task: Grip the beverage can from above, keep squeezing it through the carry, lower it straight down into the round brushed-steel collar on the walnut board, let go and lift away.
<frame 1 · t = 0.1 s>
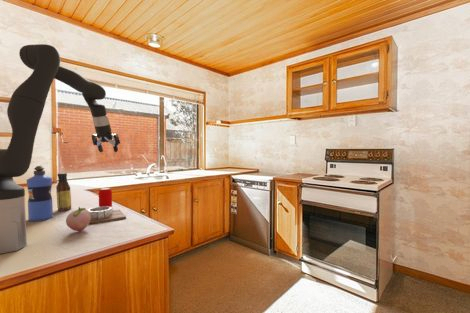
hand: (108, 151, 135), 31 cm above the table, tool tilted 20°, fingers open, 8 cm apart
sauce bottle: (64, 210, 130), on the table
walnut base board: (99, 218, 114), on the table
water bottle: (40, 218, 114), on the table
beverage can: (105, 211, 127), on the table
steel collar: (99, 212, 114), on the walnut base board, point 3 cm above the table
decorative fruit: (78, 232, 96), on the table
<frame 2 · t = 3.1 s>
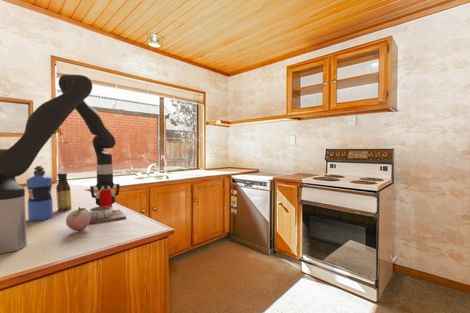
hand: (105, 204, 127), 4 cm above the table, tool pointing down, fingers closed on beverage can, 6 cm apart
beverage can: (105, 211, 127), on the table, touching gripper
everything else where it was.
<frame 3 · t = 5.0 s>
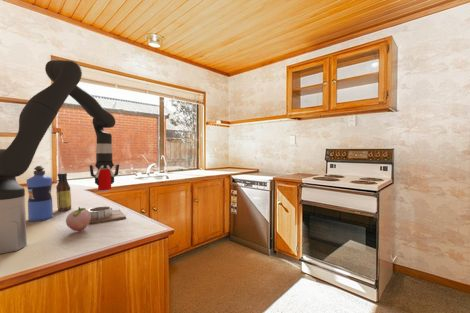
hand: (104, 184, 126), 14 cm above the table, tool pointing down, fingers closed on beverage can, 6 cm apart
beverage can: (104, 191, 126), point 11 cm above the table, touching gripper
everything else where it was.
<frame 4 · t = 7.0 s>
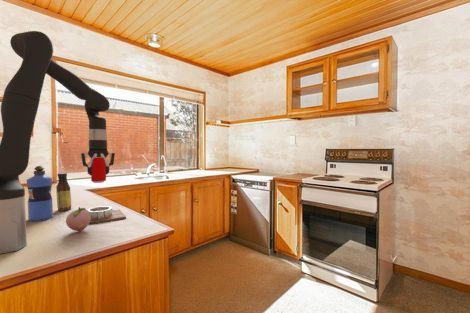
hand: (98, 174, 113), 21 cm above the table, tool pointing down, fingers closed on beverage can, 6 cm apart
beverage can: (98, 182, 113), point 17 cm above the table, touching gripper
everything else where it was.
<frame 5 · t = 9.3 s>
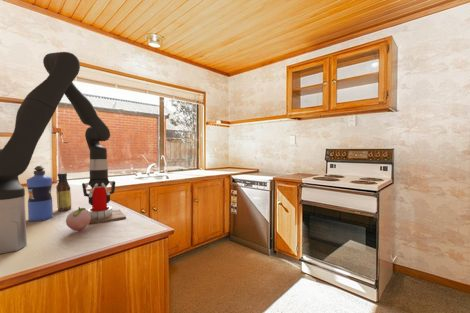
hand: (99, 203, 114), 7 cm above the table, tool pointing down, fingers closed on beverage can, 6 cm apart
beverage can: (99, 211, 114), point 3 cm above the table, touching gripper
everything else where it was.
when the fingers open (6 cm above the table, at t = 10.9 s): beverage can drops 1 cm, resting on walnut base board.
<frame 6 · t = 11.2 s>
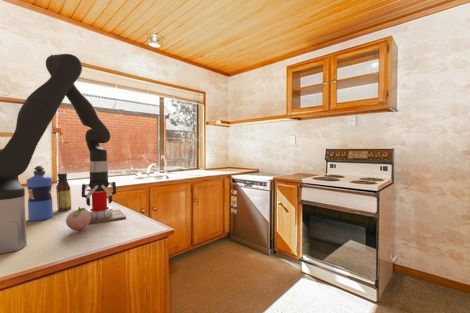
hand: (99, 204, 114), 7 cm above the table, tool pointing down, fingers open, 8 cm apart
beverage can: (99, 216, 114), point 1 cm above the table, touching walnut base board
everything else where it was.
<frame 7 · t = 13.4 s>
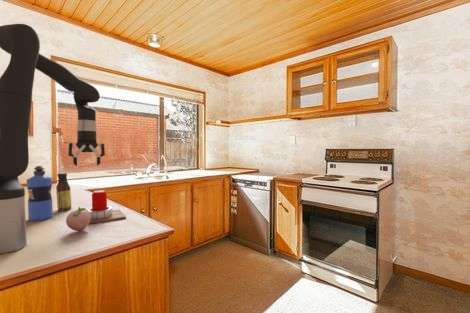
hand: (87, 165, 111), 25 cm above the table, tool pointing down, fingers open, 8 cm apart
nothing on the table moved.
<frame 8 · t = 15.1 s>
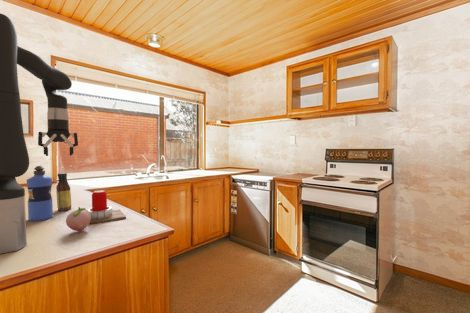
hand: (59, 155, 107), 30 cm above the table, tool pointing down, fingers open, 8 cm apart
nothing on the table moved.
at the end: beverage can 0.1 cm off-centre on the steel collar, point 0.8 cm above the steel collar's base; beverage can tilted 0°; the gripper is holding nothing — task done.
